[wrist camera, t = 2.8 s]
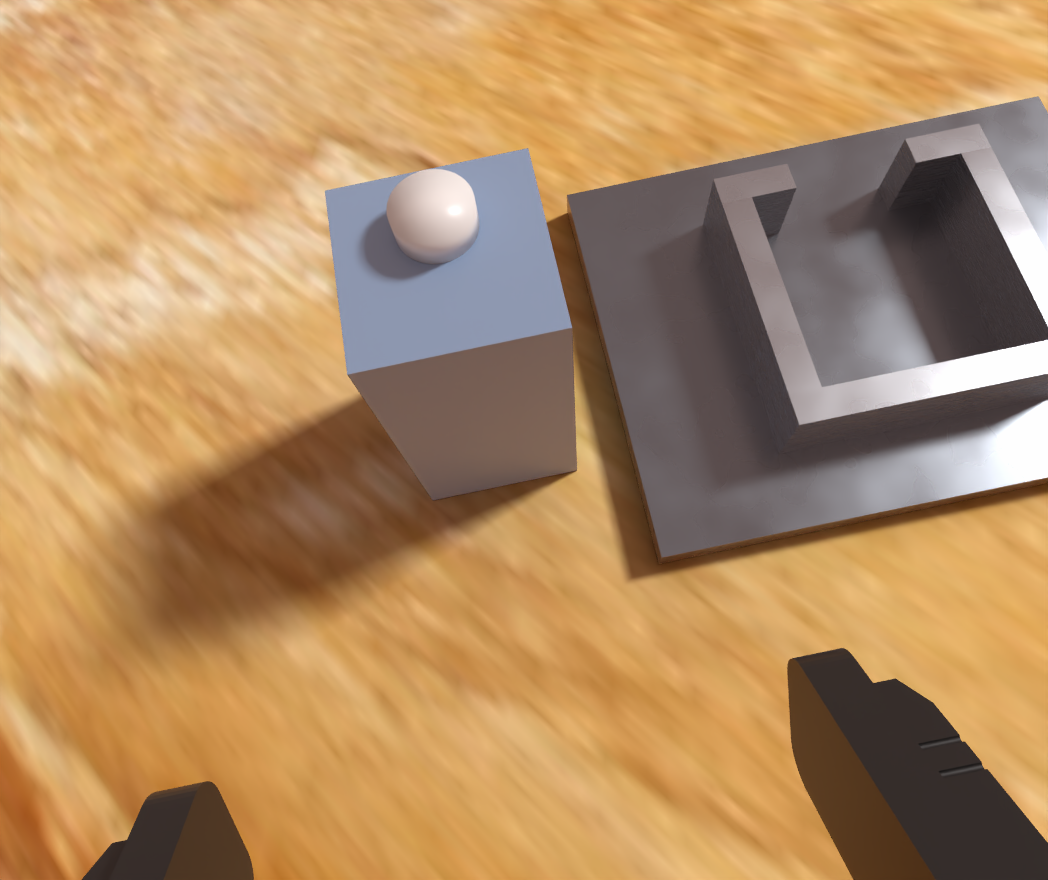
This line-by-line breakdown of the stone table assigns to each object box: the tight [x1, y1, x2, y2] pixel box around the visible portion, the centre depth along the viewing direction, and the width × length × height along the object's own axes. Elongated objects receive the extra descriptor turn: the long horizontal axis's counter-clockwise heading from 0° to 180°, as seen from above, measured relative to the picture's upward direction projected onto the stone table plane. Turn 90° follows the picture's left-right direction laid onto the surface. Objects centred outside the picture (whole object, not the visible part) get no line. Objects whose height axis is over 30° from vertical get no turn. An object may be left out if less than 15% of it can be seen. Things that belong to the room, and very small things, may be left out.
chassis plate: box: [567, 97, 1048, 564], centre depth 26 cm, size 18×14×4 cm
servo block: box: [325, 148, 577, 500], centre depth 22 cm, size 5×7×11 cm
